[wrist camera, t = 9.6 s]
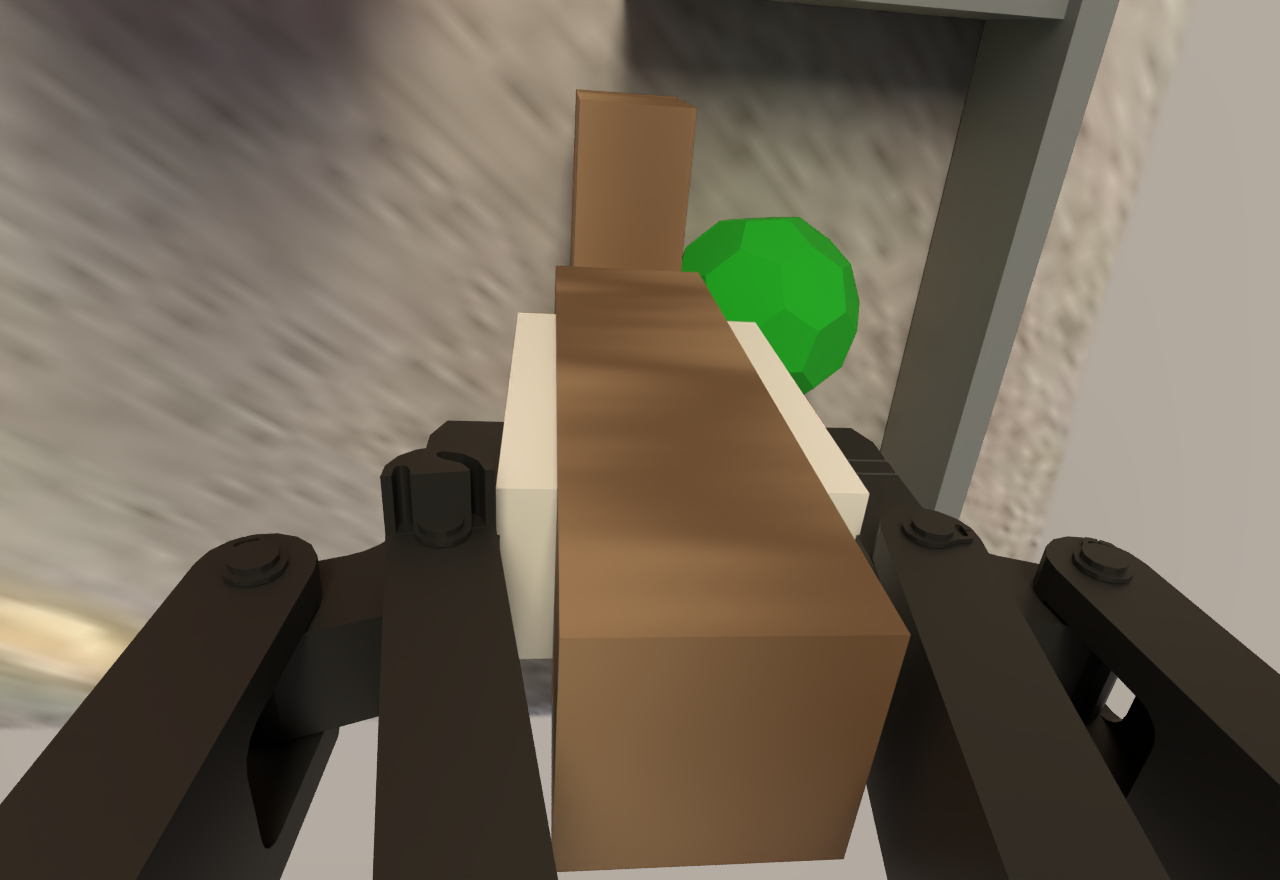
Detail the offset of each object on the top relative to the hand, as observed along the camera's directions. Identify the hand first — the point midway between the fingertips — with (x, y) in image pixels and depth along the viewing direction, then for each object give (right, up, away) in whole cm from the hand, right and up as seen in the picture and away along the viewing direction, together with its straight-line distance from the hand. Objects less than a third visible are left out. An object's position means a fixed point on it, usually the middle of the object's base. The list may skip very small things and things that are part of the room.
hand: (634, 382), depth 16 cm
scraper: (-1, +3, +5) cm, 6 cm away
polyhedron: (+3, +3, +7) cm, 8 cm away
